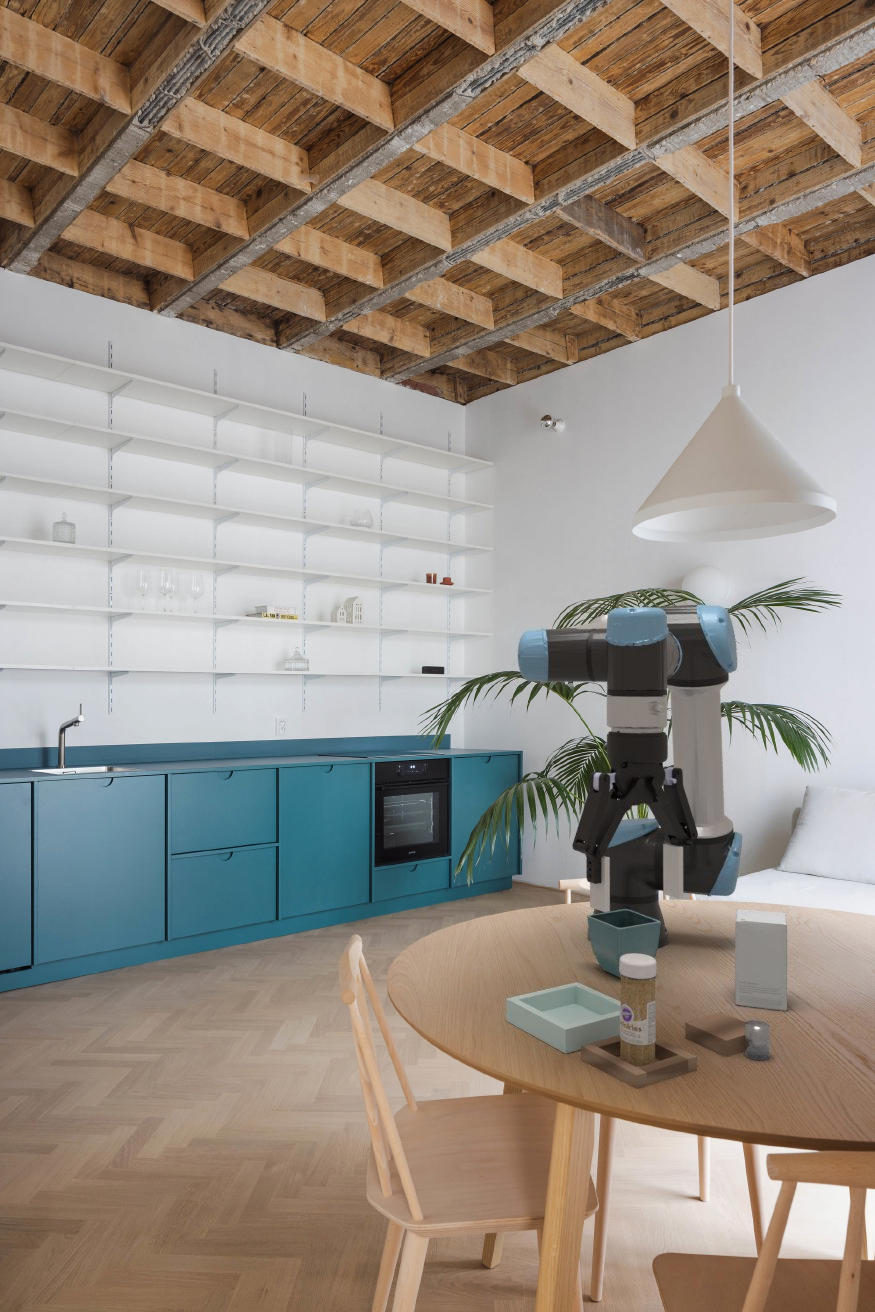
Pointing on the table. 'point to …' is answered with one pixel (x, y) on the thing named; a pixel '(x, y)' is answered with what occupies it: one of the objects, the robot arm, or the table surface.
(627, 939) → the flower pot
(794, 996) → the table surface
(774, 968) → the supplement box
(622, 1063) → the socket block
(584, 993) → the tray
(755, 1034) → the bench dog
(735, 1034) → the square wooden coaster
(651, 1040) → the sprinkles bottle
